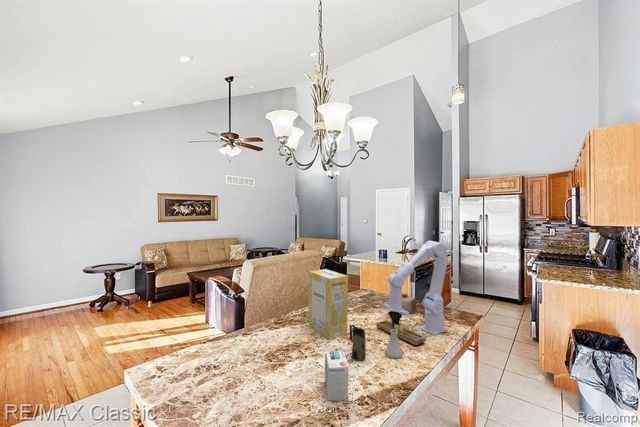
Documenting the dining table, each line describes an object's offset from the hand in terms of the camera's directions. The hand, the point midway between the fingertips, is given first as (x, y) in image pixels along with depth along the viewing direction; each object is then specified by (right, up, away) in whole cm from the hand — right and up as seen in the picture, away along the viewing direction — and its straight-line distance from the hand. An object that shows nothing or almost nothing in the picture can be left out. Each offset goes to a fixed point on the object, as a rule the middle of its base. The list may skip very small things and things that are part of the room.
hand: (395, 326), depth 141 cm
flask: (-6, -4, -20) cm, 21 cm away
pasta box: (-33, -3, +4) cm, 33 cm away
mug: (-21, -4, -22) cm, 31 cm away
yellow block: (+2, -1, -3) cm, 4 cm away
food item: (+14, -3, +32) cm, 35 cm away
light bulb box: (-31, -4, -44) cm, 54 cm away
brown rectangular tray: (+1, -3, -2) cm, 4 cm away
